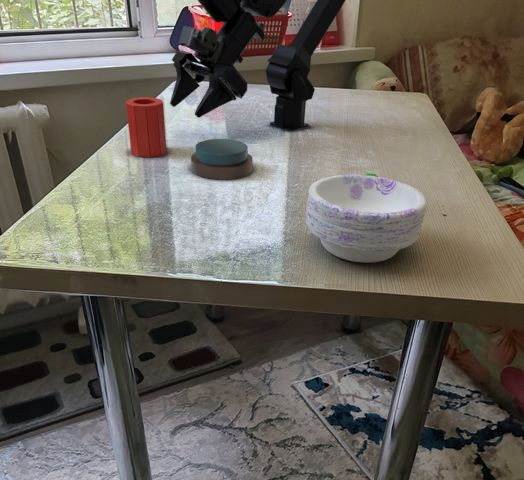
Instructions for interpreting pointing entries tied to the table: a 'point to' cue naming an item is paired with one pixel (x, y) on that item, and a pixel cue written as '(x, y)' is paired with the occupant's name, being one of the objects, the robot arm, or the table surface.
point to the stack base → (221, 170)
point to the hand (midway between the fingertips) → (183, 110)
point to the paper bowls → (364, 216)
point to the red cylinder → (146, 126)
